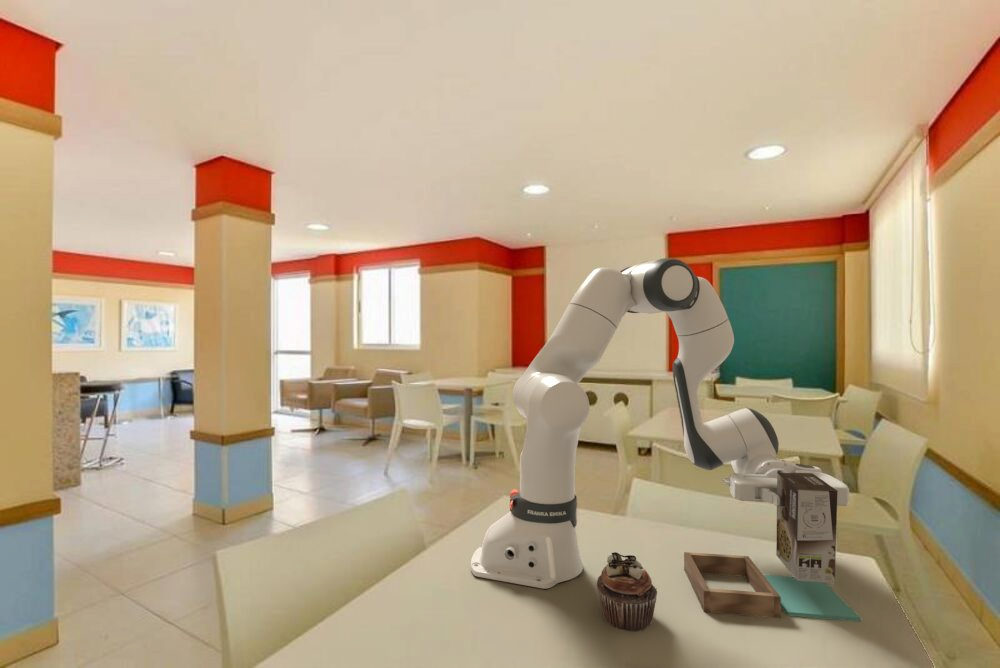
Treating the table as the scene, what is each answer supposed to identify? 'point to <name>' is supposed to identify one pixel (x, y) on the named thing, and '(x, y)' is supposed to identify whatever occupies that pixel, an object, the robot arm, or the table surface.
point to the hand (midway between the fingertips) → (804, 503)
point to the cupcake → (626, 593)
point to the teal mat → (810, 599)
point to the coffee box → (807, 527)
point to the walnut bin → (731, 601)
